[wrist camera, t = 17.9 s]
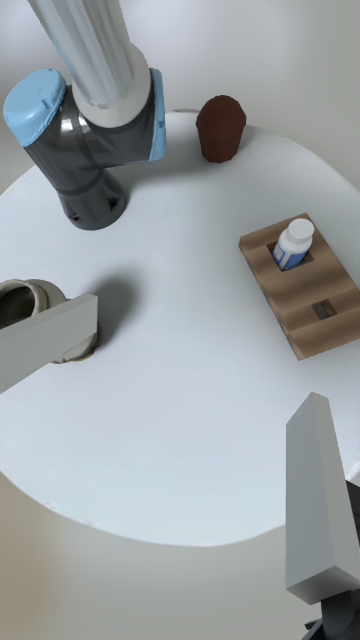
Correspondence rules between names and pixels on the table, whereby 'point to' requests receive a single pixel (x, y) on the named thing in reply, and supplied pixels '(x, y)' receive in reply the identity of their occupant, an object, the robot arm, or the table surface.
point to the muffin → (220, 128)
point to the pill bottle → (293, 244)
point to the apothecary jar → (35, 298)
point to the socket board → (305, 291)
